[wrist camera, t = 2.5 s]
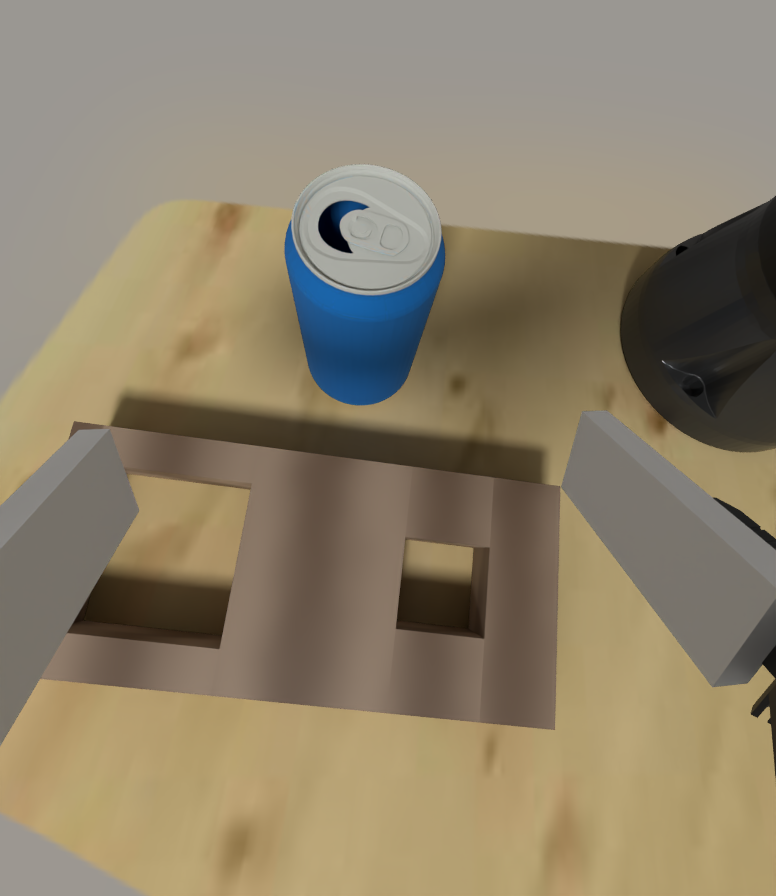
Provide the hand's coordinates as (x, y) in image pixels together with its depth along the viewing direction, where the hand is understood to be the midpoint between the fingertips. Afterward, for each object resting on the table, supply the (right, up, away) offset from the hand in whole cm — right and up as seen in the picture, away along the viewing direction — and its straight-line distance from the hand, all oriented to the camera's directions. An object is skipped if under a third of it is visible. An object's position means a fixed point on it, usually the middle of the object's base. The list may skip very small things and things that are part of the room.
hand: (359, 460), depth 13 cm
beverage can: (-1, +6, +15) cm, 16 cm away
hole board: (-4, -7, +12) cm, 14 cm away
